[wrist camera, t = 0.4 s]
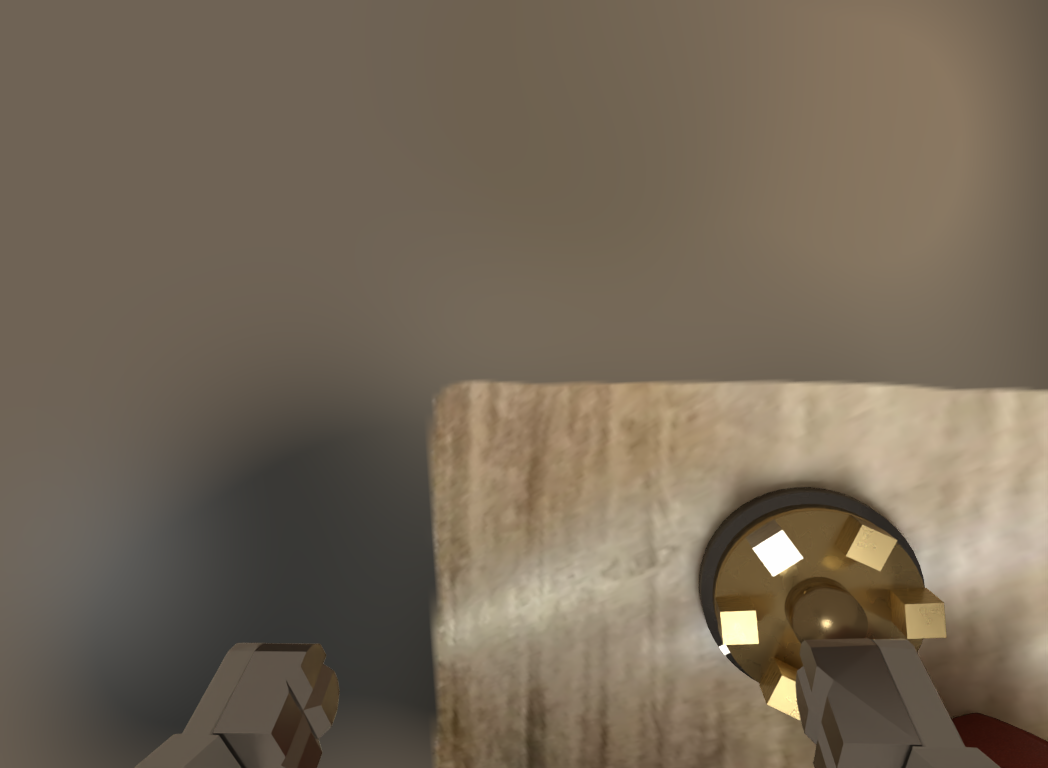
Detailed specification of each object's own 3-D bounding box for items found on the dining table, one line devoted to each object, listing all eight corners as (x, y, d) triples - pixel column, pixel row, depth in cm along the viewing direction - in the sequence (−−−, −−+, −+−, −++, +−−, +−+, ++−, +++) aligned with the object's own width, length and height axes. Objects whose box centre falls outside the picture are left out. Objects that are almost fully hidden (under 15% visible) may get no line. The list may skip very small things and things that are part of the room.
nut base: (959, 617, 59) (973, 629, 56) (777, 721, 62) (783, 735, 60) (832, 447, 59) (841, 451, 57) (658, 559, 63) (660, 567, 60)
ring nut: (956, 625, 57) (991, 657, 51) (785, 721, 60) (802, 760, 54) (837, 466, 57) (860, 480, 52) (674, 570, 60) (679, 594, 55)
